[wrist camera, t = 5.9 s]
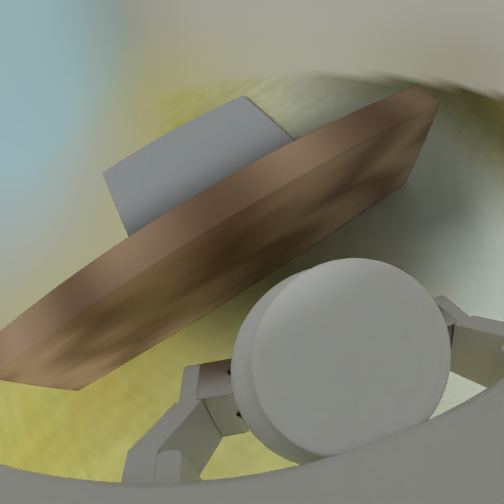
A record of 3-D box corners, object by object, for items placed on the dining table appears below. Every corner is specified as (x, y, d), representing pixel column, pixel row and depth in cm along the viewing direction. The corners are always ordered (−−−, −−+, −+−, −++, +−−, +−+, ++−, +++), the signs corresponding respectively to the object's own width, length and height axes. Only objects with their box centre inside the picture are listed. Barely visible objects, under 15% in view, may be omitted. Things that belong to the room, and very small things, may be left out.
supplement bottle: (349, 308, 16) (424, 194, 6) (380, 408, 13) (508, 422, 4) (244, 339, 16) (181, 261, 6) (272, 443, 13) (249, 530, 4)
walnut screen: (390, 167, 19) (418, 84, 13) (405, 182, 18) (440, 101, 12) (68, 368, 16) (-18, 346, 9) (77, 390, 15) (-11, 377, 9)
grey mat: (244, 103, 23) (242, 95, 22) (318, 173, 19) (319, 165, 19) (107, 179, 21) (102, 172, 20) (150, 275, 18) (144, 270, 17)
